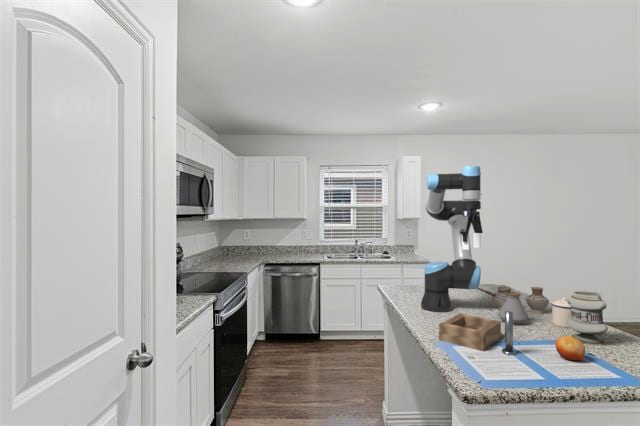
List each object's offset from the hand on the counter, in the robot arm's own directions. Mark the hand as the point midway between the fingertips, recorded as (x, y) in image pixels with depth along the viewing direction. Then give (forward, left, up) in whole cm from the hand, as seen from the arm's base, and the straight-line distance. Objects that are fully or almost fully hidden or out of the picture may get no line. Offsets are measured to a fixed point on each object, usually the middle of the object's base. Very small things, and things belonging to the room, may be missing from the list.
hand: (471, 248), depth 155 cm
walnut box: (+7, -21, -33) cm, 40 cm away
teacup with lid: (+30, +25, -33) cm, 51 cm away
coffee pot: (+9, +10, -33) cm, 36 cm away
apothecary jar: (+40, +7, -33) cm, 52 cm away
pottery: (+10, +37, -33) cm, 51 cm away
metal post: (+22, -27, -33) cm, 47 cm away
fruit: (+38, -18, -33) cm, 53 cm away
